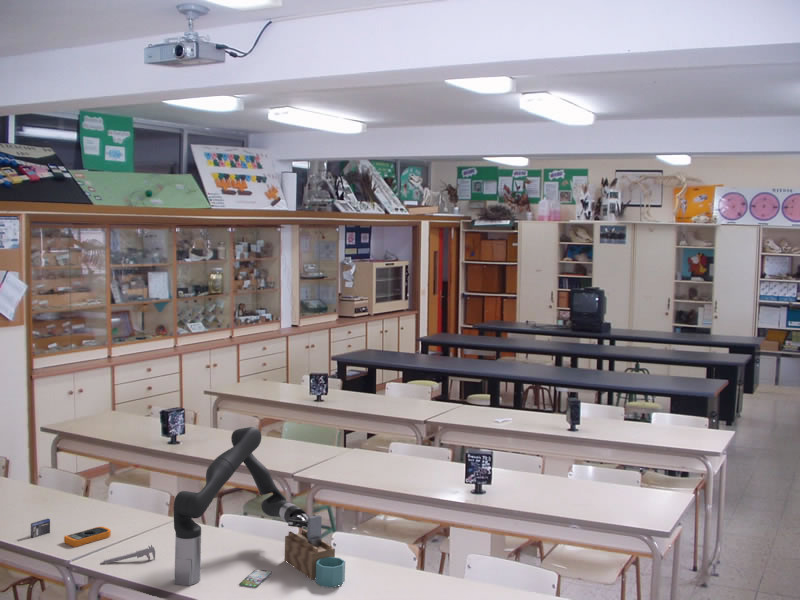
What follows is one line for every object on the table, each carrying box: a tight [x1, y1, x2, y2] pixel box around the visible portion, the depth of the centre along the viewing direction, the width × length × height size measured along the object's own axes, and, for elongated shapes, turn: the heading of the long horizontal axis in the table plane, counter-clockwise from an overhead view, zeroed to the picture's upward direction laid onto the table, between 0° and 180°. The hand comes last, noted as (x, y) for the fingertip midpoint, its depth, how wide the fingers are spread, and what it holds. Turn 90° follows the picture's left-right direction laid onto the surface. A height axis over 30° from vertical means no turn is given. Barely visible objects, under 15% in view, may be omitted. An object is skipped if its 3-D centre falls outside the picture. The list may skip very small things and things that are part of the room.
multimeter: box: [63, 526, 112, 548], centre depth 336 cm, size 9×18×3 cm, turn 144°
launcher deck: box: [283, 528, 336, 580], centre depth 314 cm, size 22×10×12 cm, turn 36°
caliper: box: [100, 544, 156, 565], centre depth 314 cm, size 20×1×6 cm, turn 108°
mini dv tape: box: [30, 518, 51, 539], centre depth 340 cm, size 8×2×6 cm, turn 150°
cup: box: [315, 556, 346, 588], centre depth 301 cm, size 10×10×8 cm
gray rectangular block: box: [306, 514, 323, 546], centre depth 310 cm, size 3×5×11 cm, turn 126°
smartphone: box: [238, 568, 273, 589], centre depth 301 cm, size 7×1×15 cm
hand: (313, 526), depth 311 cm, fingers closed
